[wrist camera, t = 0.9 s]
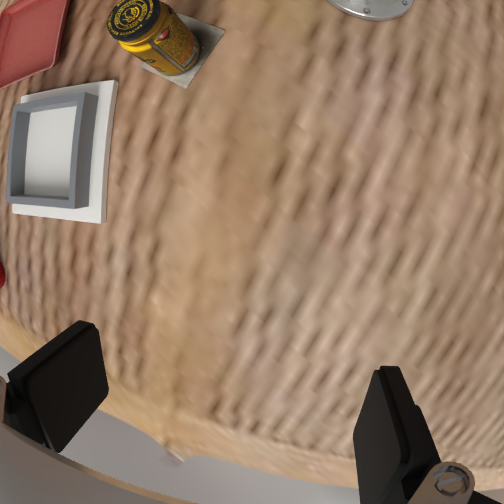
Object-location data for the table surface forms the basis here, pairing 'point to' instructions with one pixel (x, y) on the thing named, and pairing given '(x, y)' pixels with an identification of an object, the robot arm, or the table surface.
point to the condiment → (163, 38)
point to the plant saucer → (30, 38)
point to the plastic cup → (2, 275)
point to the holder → (62, 152)
